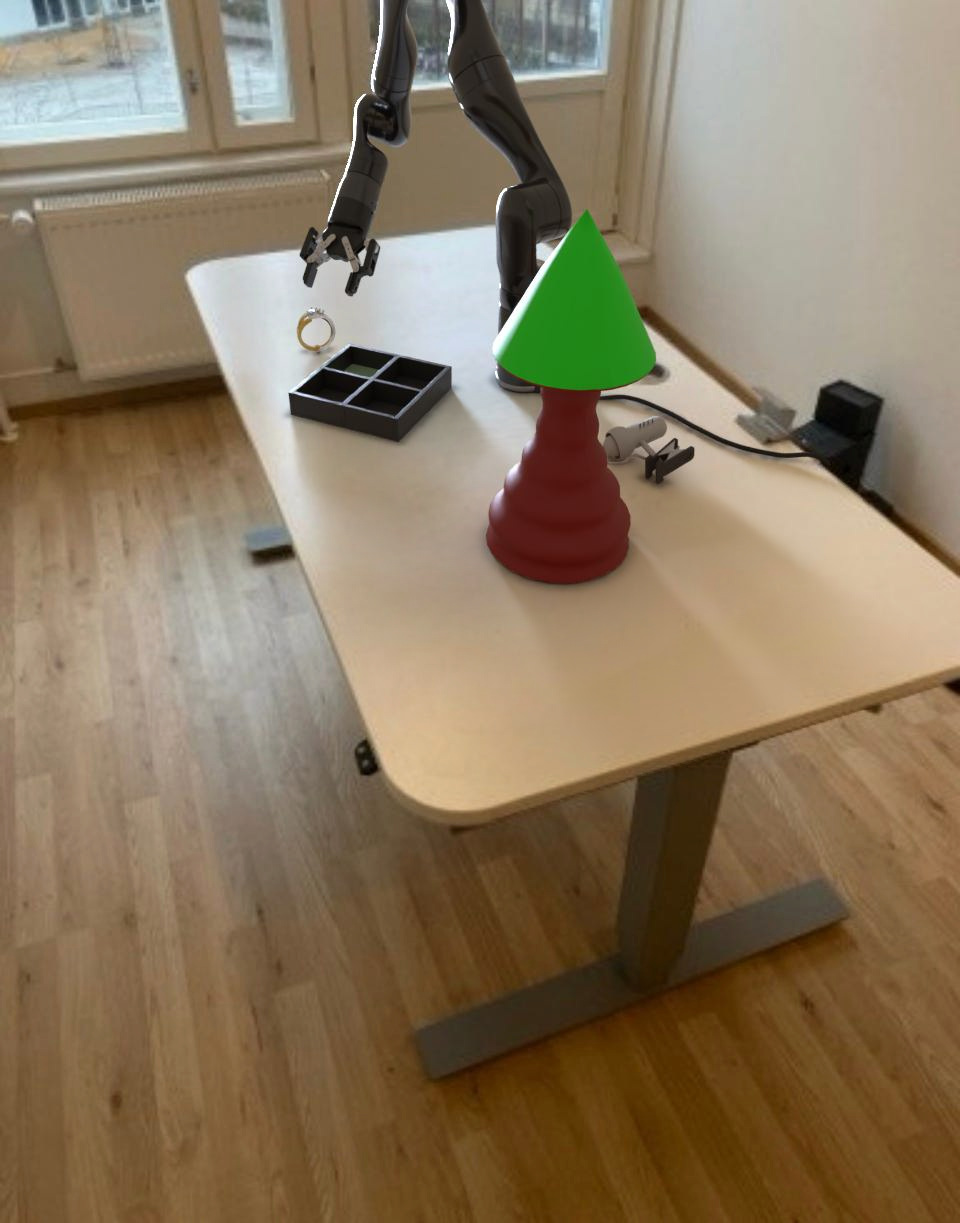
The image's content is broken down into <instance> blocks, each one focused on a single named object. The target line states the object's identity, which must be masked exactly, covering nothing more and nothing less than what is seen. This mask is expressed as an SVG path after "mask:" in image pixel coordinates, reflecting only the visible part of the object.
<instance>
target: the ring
mask: <svg viewBox="0 0 960 1223" xmlns="http://www.w3.org/2000/svg"><path fill="white" fill-rule="evenodd" d="M321 310H322V311H321ZM317 319H322V320H324V321H326V322H327V324H328V325H329V327H330V335H329V338H328V339H327V341H326V342H324V343H323V344H321V345H319V344H315V345H314V346H312V345H309V344H307V343H306V342H305V341H304V340H303V338H302V333H303V330H304V329H305V327H306V326H308V325H309V324H310V323H312V322H313V320H317ZM296 337H297V340H298V342H299V344H300V345H301V347H303V348H304V349H305V350H308V351H310V352H315V353H320V352H322V351H325V350H326V349H328V348H329V347H330V346H331V345H332V344H333V342H334V340H335V337H336V326H335V323H334V321H333V320H332V318H331V317H330V316H328V315H327V314H325V309H321V308H317V307H315V308H313V307H310V309H309V310H306V312H304V313H303V314H302V315H301V316H300V318H299V320H298V322H297V323H296Z"/></svg>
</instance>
